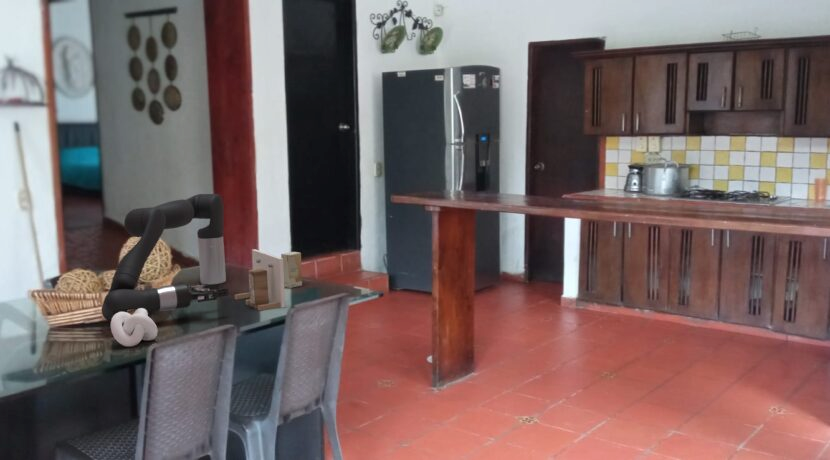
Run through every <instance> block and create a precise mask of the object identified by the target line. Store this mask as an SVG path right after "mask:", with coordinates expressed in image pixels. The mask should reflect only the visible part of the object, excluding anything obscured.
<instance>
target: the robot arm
mask: <svg viewBox="0 0 830 460" xmlns="http://www.w3.org/2000/svg"><path fill="white" fill-rule="evenodd" d="M193 219H199V220H201V219H202V220H209V224H208V225H207V226H205V227H201V228H199V229H198V230H197V245H198V247H197V248H198V260H199V261H198V262H199V276H200V277H199V278H200V283H198V284H191V285H188V284H187V283H185V282H183V283H175V284H168V285H163V286H159V287H154V288H147V289H141V290H139V289H136V288H137V286H138V285H137V284H138V283H139V281H140V277H141V274H142V271H143V268H145V264H146V262H147V260H148V258H149V257H150V256H151V254H152V252H153V250H155V247H156V245H157V243H158V242H159V240H160V238H161V237H162V235H163V232H164V231H165V230H170V229H171V230H172V229H177V228H178V229H179V228H181V227H185V226H186V225H188V224H190V223H192V221H193ZM224 223H225V222H224V201H223V198H222V197H221V195H220V194H219V193H198V194H195V195H192V196H191V197H187V198H186V199H182V198H181V199H175V200H171V201H168V202H165V203H161V204H158V205H156V206H150V207H149V206H148V207H140V208H139V207H138V208H134V209H130V211H129V212H128V213H127V214H126V215H125V218H124V228H125V231H126V232H127V234H129V235H130V236H132V237H135V238H140V239H139V240H138V241H137V242H136V244H134V246H133V247H132V248H131V249H130V250H128V251H127V253H125V255H124V256H122V258H121V260H120V261H119V262H118V264H117V267H116V269H115V272H114V275H113V277H112V281H111V285H110V289H109V290H108V293H107V294H106V296H105V297H104V300H103V303H102V305H101V306H102V307H101V314H102V316H103V317H102V318H103V319H105V320H106V321H108V322H110V323H111V320H112V317H113V316H114V315H115V314H116V313H118V312H127V313H128V311H134V310H135V311H136V310H137V309H139V308H144V309H146V311H147V313H148V314H149V313H155V312H166V311H172V310H177V309H179V310H180V309H184V308H189V307H190V306H191V302H192V301H194V302H197V303H203V302H210V301H216V300H218V298H221V297H226V296H229V289H228V288H227V287H226V288H220V289H219V284H223V283H225V282H226V281H227V274H226V261H225V245H224V243H225V242H224Z"/></svg>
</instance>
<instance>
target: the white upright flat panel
mask: <svg viewBox="0 0 830 460" xmlns="http://www.w3.org/2000/svg"><path fill="white" fill-rule="evenodd" d="M251 255H252V256H251V257H252V270H254V269H264V270H267V281H268V299H269V304H264V305H258V309H257V311H258V312H260V311H266V310H271V309H278V308H286V296H285V295H286V293H285V287H284V271H283V258H281V257H279V256H276V255H274V254H271V253H269V252H268V253H267V252H264V251H261V250H259V249H255V248H254V249H251ZM248 298H249V299H248ZM242 299H243V300H244V299H245V305H247V306H250V291H249V292H244V293H237V294H234V300H236V301H237V300H242Z"/></svg>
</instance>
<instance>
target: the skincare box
mask: <svg viewBox="0 0 830 460" xmlns="http://www.w3.org/2000/svg"><path fill="white" fill-rule="evenodd" d="M280 256H281V257H280V258H283V271H284V288H288V289H292V288H296V287H301V286H303V275H302V274H303V271H302V253H301V252H298V251H291V252H285V253H281V255H280Z"/></svg>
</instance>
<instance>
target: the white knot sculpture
mask: <svg viewBox="0 0 830 460" xmlns="http://www.w3.org/2000/svg"><path fill="white" fill-rule="evenodd" d="M148 315H149V313H147V311H146V309H144V308H139V309H137V310H135V311H134V312H133V313H132V314H131V313H129V312H128V311H127V312H118V313H116V314H115V315H114V316H113V317H112V320H111V322H110V331H111V335H112V336H113V337H114V340H116V341H117V342H118V344H120V345H121V346H123V347H126V348H131V347H135V346H137V345H138V344H139V343H140V342H141V341H142V340H143V341H146V342H148V341H149V342H150V341H153V340H155V338H157V336H158V332H159V331H158V326H157V325H156V323H155V322H154V320H153V319H152V318H151V317H150V316H148Z"/></svg>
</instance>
